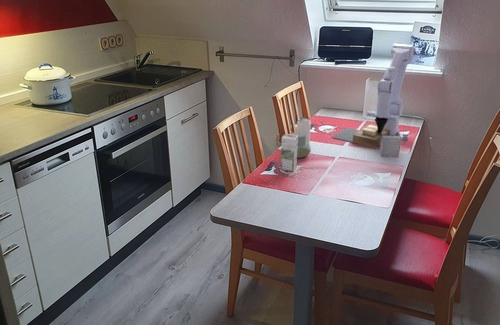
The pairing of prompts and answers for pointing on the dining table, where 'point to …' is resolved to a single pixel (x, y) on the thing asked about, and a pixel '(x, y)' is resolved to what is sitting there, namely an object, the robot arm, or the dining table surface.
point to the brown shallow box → (369, 138)
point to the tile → (370, 130)
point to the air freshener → (302, 146)
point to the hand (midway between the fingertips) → (380, 132)
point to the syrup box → (289, 152)
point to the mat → (346, 134)
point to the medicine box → (390, 146)
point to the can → (304, 127)
